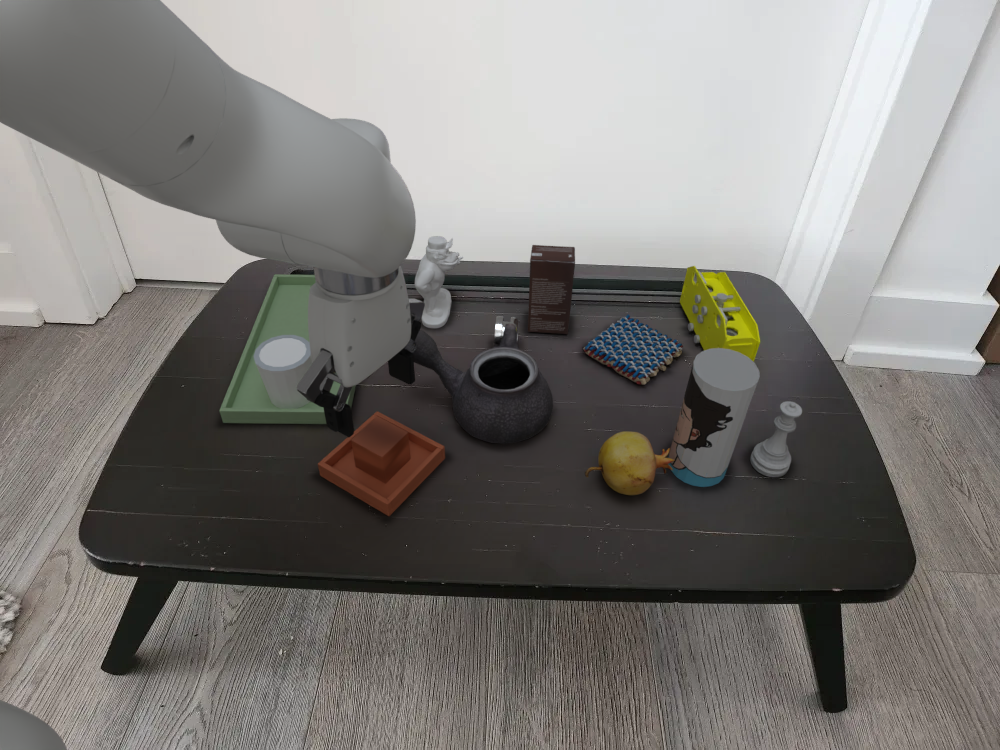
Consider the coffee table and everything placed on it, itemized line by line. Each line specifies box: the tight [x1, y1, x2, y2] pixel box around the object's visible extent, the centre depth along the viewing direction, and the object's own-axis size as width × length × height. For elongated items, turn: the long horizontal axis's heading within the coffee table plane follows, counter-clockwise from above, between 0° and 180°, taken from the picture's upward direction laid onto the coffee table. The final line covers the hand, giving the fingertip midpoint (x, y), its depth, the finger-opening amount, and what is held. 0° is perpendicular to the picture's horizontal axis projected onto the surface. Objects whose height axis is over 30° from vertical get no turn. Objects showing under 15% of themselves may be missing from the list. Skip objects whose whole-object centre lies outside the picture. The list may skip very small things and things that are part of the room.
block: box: [351, 416, 411, 484], centre depth 82 cm, size 4×4×4 cm
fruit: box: [584, 430, 675, 496], centre depth 80 cm, size 7×7×10 cm
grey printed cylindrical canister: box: [667, 348, 761, 488], centre depth 80 cm, size 7×7×15 cm
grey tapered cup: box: [253, 335, 312, 409], centre depth 89 cm, size 7×7×7 cm
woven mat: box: [583, 314, 684, 386], centre depth 99 cm, size 10×11×2 cm
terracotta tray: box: [317, 410, 446, 517], centre depth 83 cm, size 10×10×2 cm
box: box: [527, 244, 576, 335], centre depth 100 cm, size 6×4×12 cm
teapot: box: [412, 324, 554, 444], centre depth 88 cm, size 19×15×10 cm
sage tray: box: [219, 273, 357, 425], centre depth 99 cm, size 29×15×2 cm, turn 0°
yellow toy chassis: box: [679, 265, 761, 363], centre depth 100 cm, size 16×6×8 cm, turn 6°
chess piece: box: [749, 400, 803, 478], centre depth 82 cm, size 4×4×10 cm
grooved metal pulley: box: [493, 315, 519, 348], centre depth 98 cm, size 5×3×5 cm, turn 175°
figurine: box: [414, 235, 464, 329], centre depth 102 cm, size 9×7×12 cm
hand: (372, 403), depth 76 cm, fingers open, 9 cm apart
